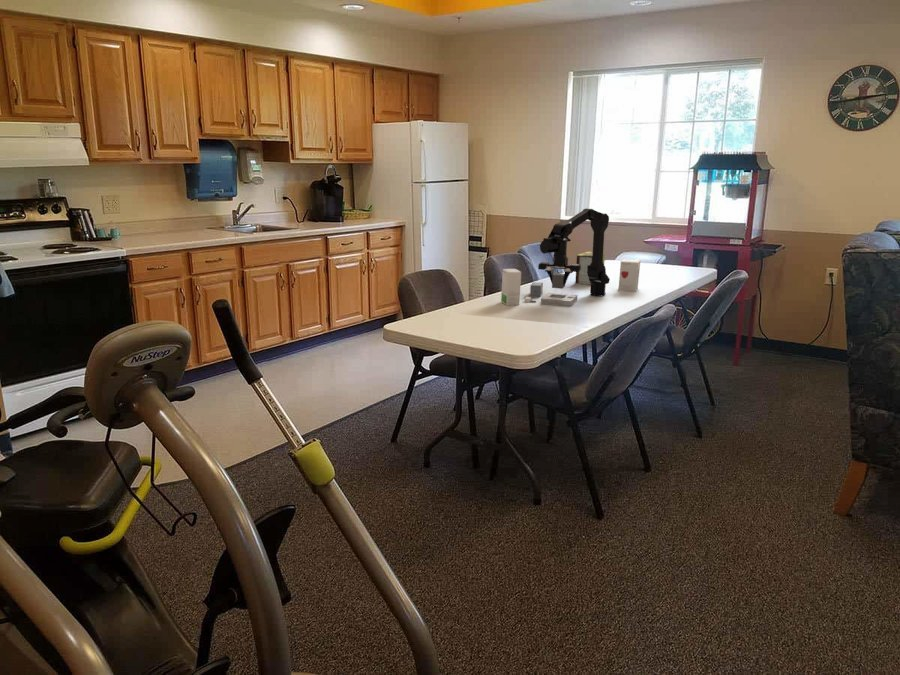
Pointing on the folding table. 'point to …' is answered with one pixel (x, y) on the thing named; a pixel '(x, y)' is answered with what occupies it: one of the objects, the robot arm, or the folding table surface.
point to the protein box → (584, 267)
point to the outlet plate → (559, 299)
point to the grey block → (558, 280)
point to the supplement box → (629, 275)
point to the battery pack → (536, 289)
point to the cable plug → (528, 299)
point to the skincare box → (511, 287)
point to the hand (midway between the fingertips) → (558, 285)
